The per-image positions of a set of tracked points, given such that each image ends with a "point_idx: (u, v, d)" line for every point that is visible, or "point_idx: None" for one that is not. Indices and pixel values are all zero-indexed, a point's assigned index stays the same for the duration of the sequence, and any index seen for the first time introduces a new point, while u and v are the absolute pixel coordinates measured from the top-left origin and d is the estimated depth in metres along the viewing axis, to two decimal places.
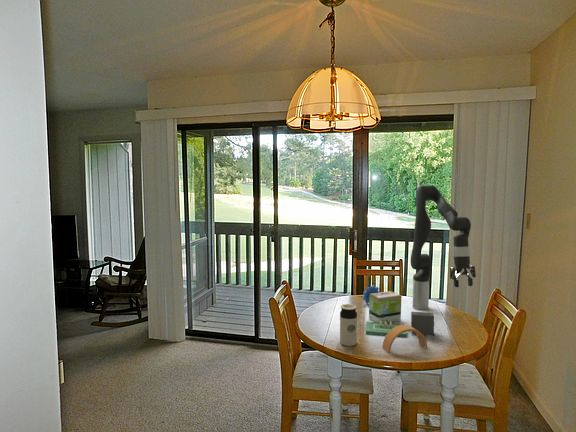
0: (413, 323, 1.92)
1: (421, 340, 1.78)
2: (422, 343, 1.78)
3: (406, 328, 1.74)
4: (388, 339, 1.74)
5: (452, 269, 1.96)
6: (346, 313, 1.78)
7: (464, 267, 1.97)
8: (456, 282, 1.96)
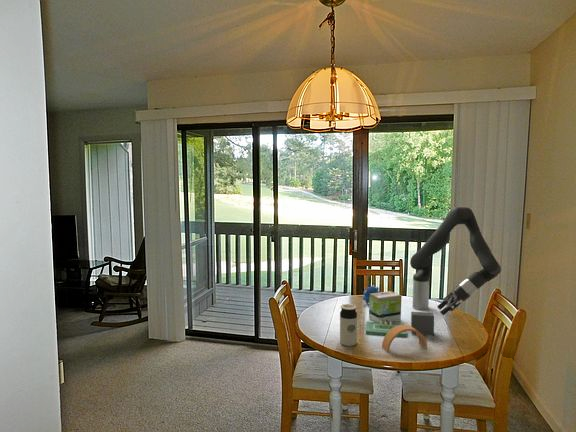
0: (413, 323, 1.92)
1: (421, 340, 1.78)
2: (422, 343, 1.78)
3: (405, 328, 1.75)
4: (388, 338, 1.75)
5: (458, 303, 1.83)
6: (346, 313, 1.78)
7: None
8: (446, 311, 1.86)
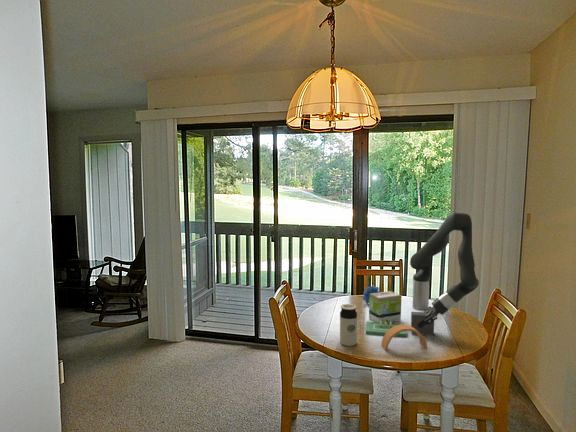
0: (413, 323, 1.92)
1: (421, 341, 1.78)
2: (422, 344, 1.77)
3: (405, 328, 1.75)
4: (386, 337, 1.76)
5: (434, 318, 1.86)
6: (346, 313, 1.78)
7: None
8: (424, 325, 1.90)
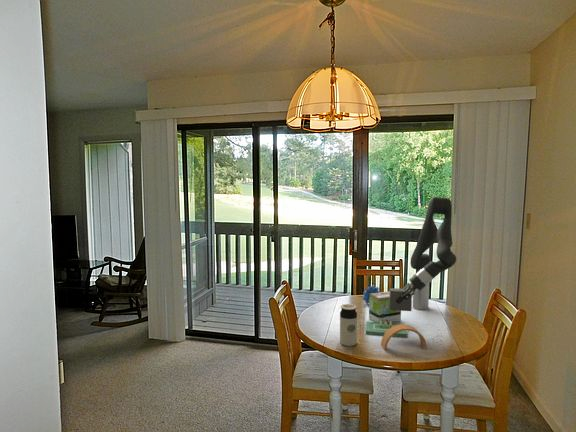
0: (391, 299, 1.93)
1: (422, 341, 1.77)
2: (423, 344, 1.77)
3: (404, 327, 1.75)
4: (386, 336, 1.77)
5: (412, 293, 1.87)
6: (346, 313, 1.78)
7: None
8: (401, 300, 1.91)
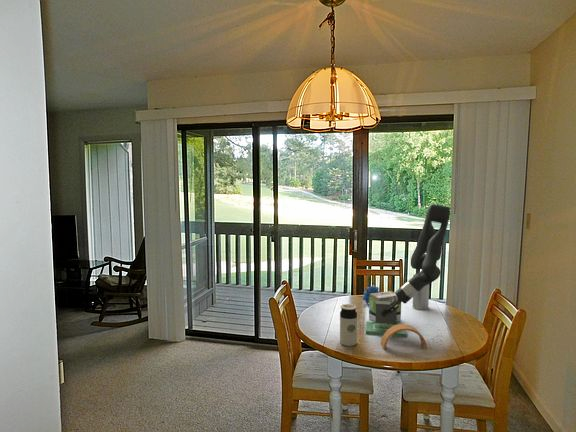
0: (376, 312, 1.96)
1: (422, 341, 1.77)
2: (423, 344, 1.77)
3: (404, 327, 1.75)
4: (385, 336, 1.77)
5: (396, 307, 1.89)
6: (346, 313, 1.78)
7: None
8: (387, 313, 1.94)
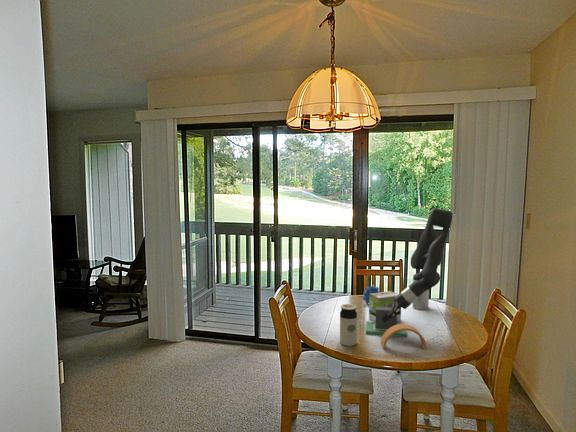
0: (377, 318, 1.96)
1: (422, 341, 1.77)
2: (423, 344, 1.77)
3: (404, 327, 1.75)
4: (385, 336, 1.78)
5: (398, 311, 1.89)
6: (346, 313, 1.78)
7: None
8: (388, 319, 1.92)
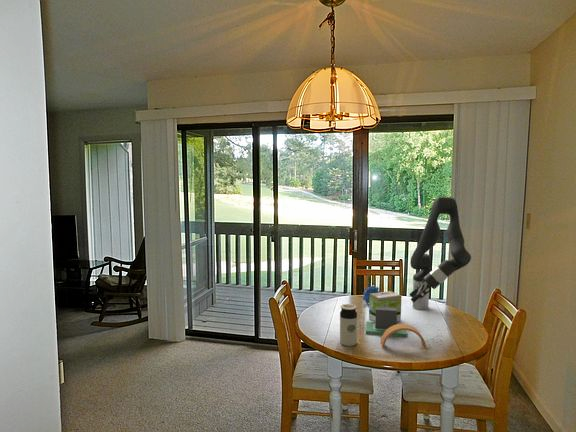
0: (377, 318, 1.96)
1: (422, 341, 1.77)
2: (423, 345, 1.76)
3: (403, 327, 1.76)
4: (384, 335, 1.78)
5: (427, 291, 1.86)
6: (346, 313, 1.78)
7: None
8: (417, 299, 1.90)
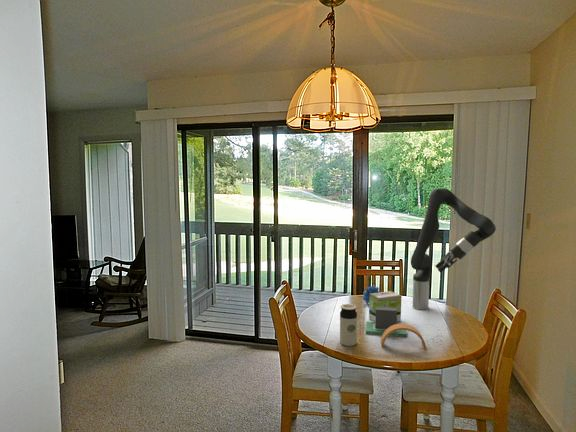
0: (377, 318, 1.96)
1: (422, 342, 1.76)
2: (422, 345, 1.76)
3: (402, 327, 1.76)
4: (384, 334, 1.79)
5: (454, 260, 1.93)
6: (346, 313, 1.78)
7: None
8: (444, 269, 1.96)
